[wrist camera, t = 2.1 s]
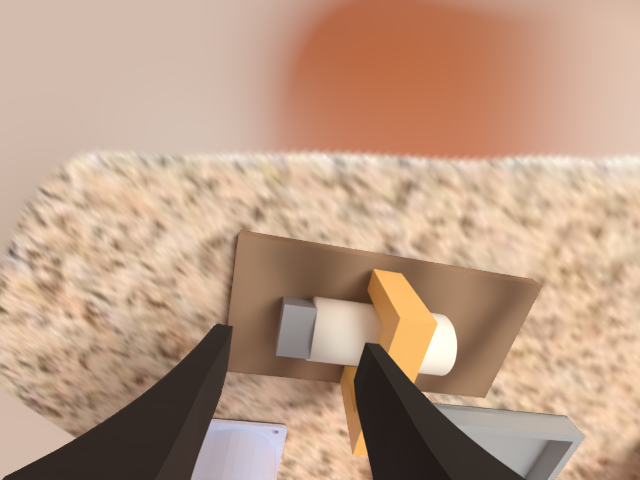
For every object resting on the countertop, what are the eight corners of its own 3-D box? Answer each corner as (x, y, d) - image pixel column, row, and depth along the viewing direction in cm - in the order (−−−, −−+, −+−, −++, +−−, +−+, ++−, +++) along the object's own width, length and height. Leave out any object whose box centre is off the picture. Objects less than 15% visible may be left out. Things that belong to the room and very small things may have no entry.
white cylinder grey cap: (274, 345, 21) (274, 367, 17) (284, 288, 21) (286, 297, 17) (420, 362, 22) (452, 386, 18) (428, 309, 22) (460, 321, 18)
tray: (375, 472, 29) (380, 495, 27) (404, 400, 26) (412, 421, 24) (523, 481, 31) (537, 503, 30) (566, 416, 28) (585, 436, 26)
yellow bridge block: (340, 381, 23) (352, 455, 18) (373, 268, 20) (400, 318, 14) (365, 384, 23) (384, 457, 18) (401, 273, 20) (437, 323, 15)
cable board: (225, 361, 23) (221, 370, 22) (241, 230, 20) (238, 235, 19) (478, 388, 26) (484, 397, 25) (532, 279, 23) (542, 285, 22)
